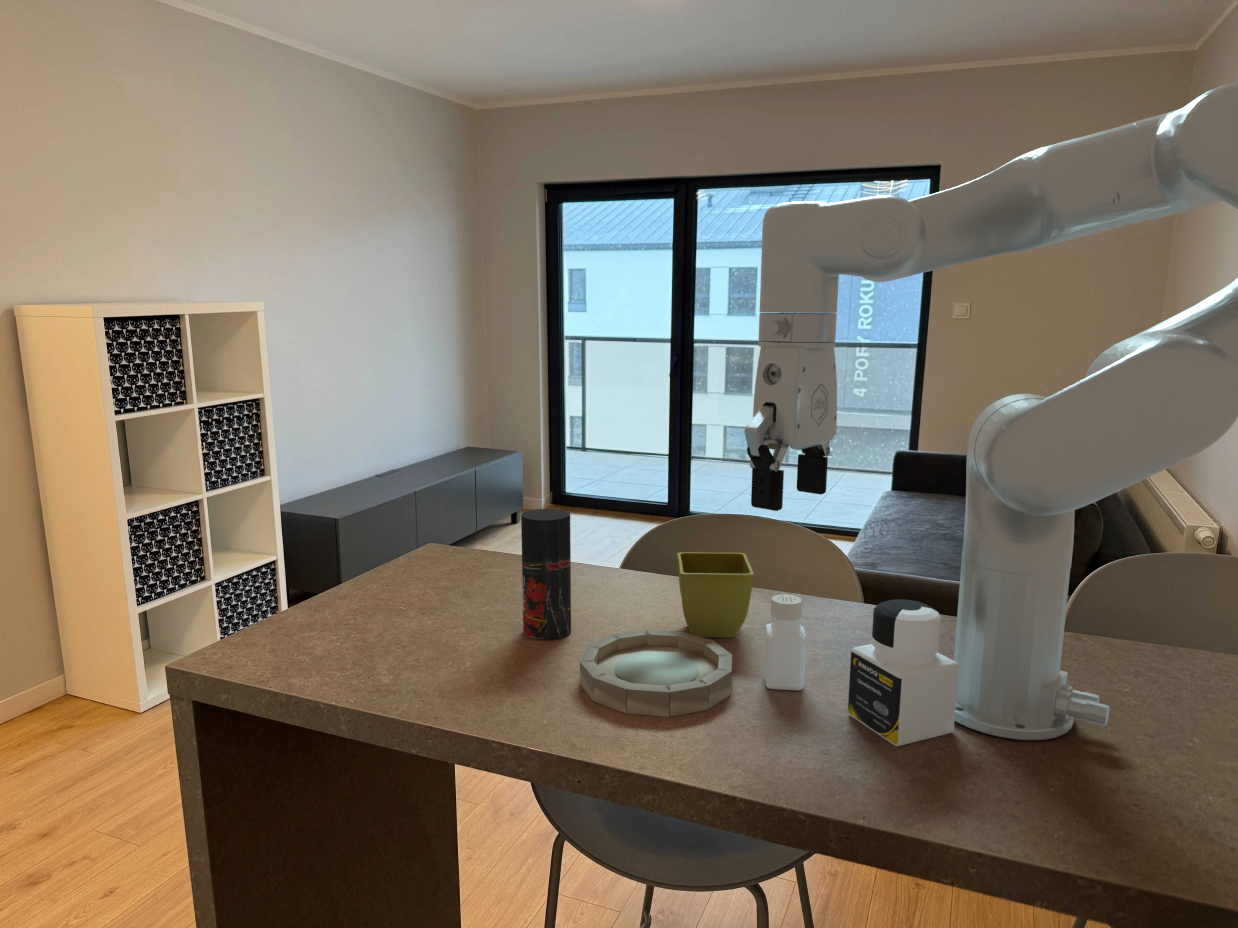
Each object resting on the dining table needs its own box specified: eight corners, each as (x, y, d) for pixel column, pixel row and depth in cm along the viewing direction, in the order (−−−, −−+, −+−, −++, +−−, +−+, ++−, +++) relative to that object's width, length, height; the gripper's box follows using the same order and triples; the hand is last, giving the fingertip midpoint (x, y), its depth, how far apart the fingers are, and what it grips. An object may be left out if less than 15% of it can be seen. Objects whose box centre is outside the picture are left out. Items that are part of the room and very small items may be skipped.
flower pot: (752, 645, 100) (754, 573, 99) (679, 644, 101) (680, 572, 99) (743, 619, 109) (745, 552, 107) (675, 618, 109) (676, 551, 108)
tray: (758, 675, 92) (759, 653, 91) (675, 731, 80) (675, 706, 79) (641, 640, 102) (642, 620, 101) (551, 685, 89) (551, 662, 89)
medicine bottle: (846, 714, 83) (852, 599, 81) (902, 701, 86) (910, 589, 84) (895, 748, 77) (904, 623, 75) (955, 733, 80) (965, 612, 77)
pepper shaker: (800, 676, 92) (804, 593, 90) (804, 692, 88) (808, 606, 86) (763, 674, 92) (766, 592, 91) (765, 690, 88) (768, 604, 87)
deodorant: (580, 633, 104) (579, 515, 101) (537, 644, 101) (535, 522, 98) (556, 619, 109) (554, 506, 106) (514, 628, 105) (512, 512, 103)
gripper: (790, 334, 75) (782, 521, 78) (867, 331, 88) (858, 491, 91) (718, 333, 79) (713, 509, 82) (802, 330, 92) (795, 482, 96)
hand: (789, 500), depth 87 cm, fingers open, 9 cm apart
